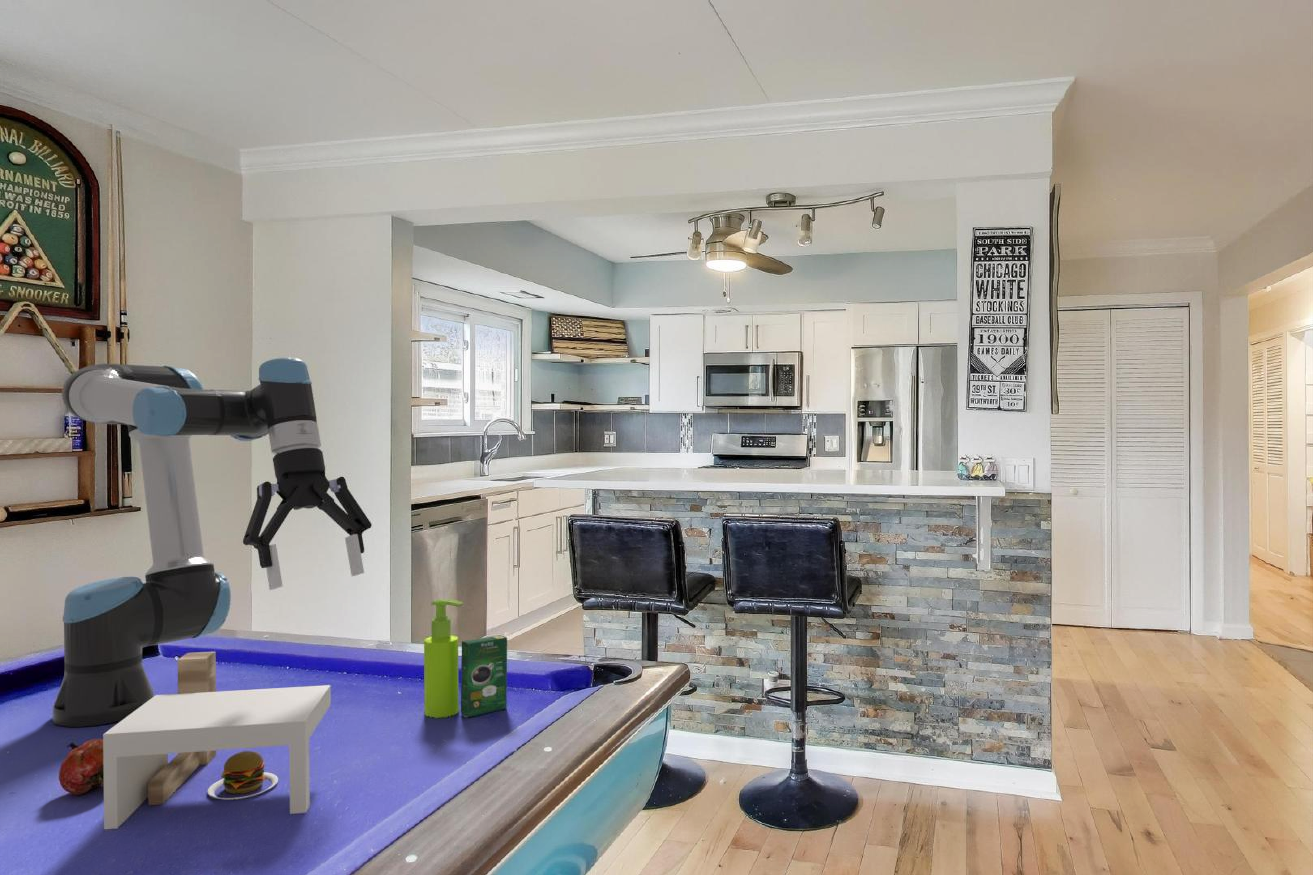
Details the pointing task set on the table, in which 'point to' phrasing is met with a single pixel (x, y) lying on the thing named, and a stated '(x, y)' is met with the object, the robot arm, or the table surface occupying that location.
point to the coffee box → (483, 675)
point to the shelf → (208, 738)
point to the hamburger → (243, 775)
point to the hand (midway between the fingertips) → (318, 581)
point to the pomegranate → (83, 767)
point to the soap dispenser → (441, 665)
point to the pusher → (192, 678)
